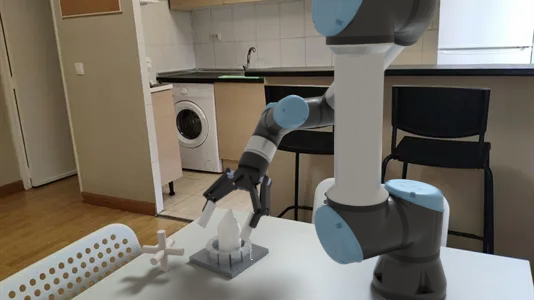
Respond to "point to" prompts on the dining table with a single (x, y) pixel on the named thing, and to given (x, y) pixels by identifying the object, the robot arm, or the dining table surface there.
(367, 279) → the dining table surface
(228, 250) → the white faceted pointed piece
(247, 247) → the collar
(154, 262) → the pipe connector
